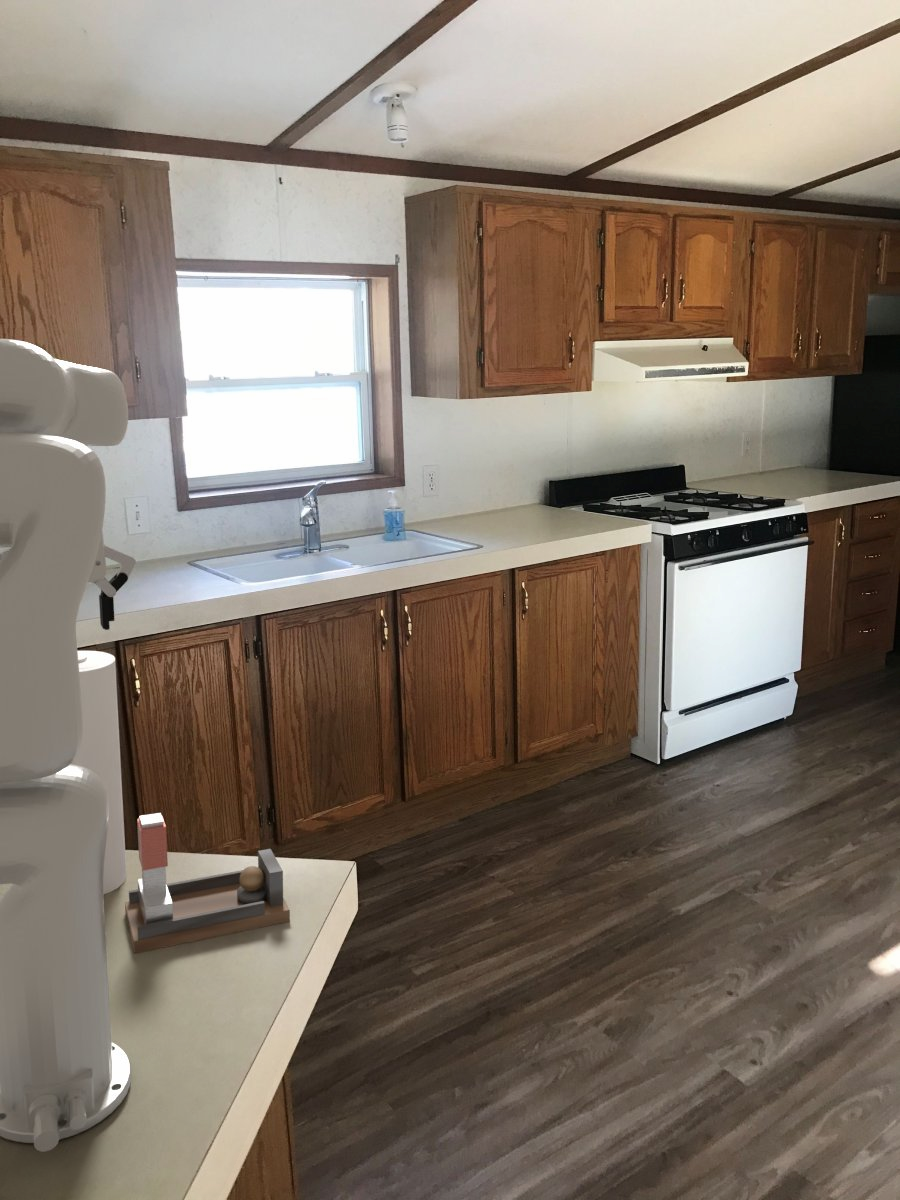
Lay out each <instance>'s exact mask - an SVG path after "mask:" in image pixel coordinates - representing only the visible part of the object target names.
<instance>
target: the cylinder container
mask: <svg viewBox="0 0 900 1200" xmlns="http://www.w3.org/2000/svg"><path fill="white" fill-rule="evenodd" d="M77 652H78V664H79V676H80V687H81V701H82V714H83V734H82V742H81V746H80V750H79V752H78V754H77V756H76V758H75V759H74V761H73V762H72V763H71V764H73V765H78V766H82V767H85V768H87V769H89V770H91V771H93V772H94V773H95V774H97V775H98V776H99V777H100V778H101V780H102V781H103V783H104V785H105V787H106V790H107V794H108V802H109V821H108V830H107V840H106V849H105V860H104V878H103V888H104V895H106V894H109V893H111V892H113V891H114V890H116V889H118V888H120V887H121V886H122V884H124V883H125V881H126V879H127V860H126V842H125V823H124V822H125V821H124V819H125V818H124V804H123V802H124V801H123V784H122V782H123V781H122V768H121V767H122V766H121V765H122V764H121V748H120V747H121V745H120V729H119V726H120V725H119V709H118V708H119V706H118V690H117V668H116V666H117V665H116V657H115V656H114V655H113V654H111V653H108V652H105V651H98V650H77Z"/></svg>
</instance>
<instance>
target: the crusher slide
mask: <svg viewBox="0 0 900 1200" xmlns="http://www.w3.org/2000/svg"><path fill="white" fill-rule="evenodd" d="M136 820H137V821H136V823H137V840H138V841H137V842H138V858H139V862H140V866H141V878H137V889H138V898H139V905H140V909H141V912H142V916H143V920H144V924H149V923H154V922H159V921H164V920H169V919H173V904H172V900H171V897H170V894H169V891H168V888H167V884H168V883H167V870H166V869H167V868H166V867H168V843H167V842H168V841H167V839H168V837H167V836H168V835H167V825H166V823H165V820H164V817H163V814H162V812H157V813H150V814H142V815H139V817H138V818H137V819H136Z"/></svg>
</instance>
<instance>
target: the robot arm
mask: <svg viewBox="0 0 900 1200" xmlns="http://www.w3.org/2000/svg"><path fill="white" fill-rule="evenodd" d="M128 424H129V405H128V400H127V394H126V391H125V387H124V384H123V382H122V381H121V379H120V378H119V376H118V375H117V374H116V373H115V372H113V371H111V370H108V369H104V368H99V367H93V366H87V365H82V364H78V363H77V364H76V363H73V362H69V361H65V360H60V359H57V358H54V357H53V356H52V355H51V354H50V353H48V351H46V350H44V349H43V348H41V347H39V346H37V345H35V344H32V343H30V342H27V341H22V340H18V339H17V340H16V339H9V338H0V548H7V549H4V550H3V551H1V552H0V885H8V884H9V885H10V884H11V885H10V886H9V888H8V889H7V890H6V892H5V893H4V894H3V895H2V897H1V898H0V1137H1V1138H3V1139H6V1140H10V1141H12V1142H17V1143H27V1144H33V1146H34V1148H35V1149H36V1150H37V1152H38V1151H39V1152H42V1153H44V1152H50V1151H51V1150H53V1149H54V1148H56V1146H57V1145H58V1144H59V1140H63V1139H65V1138H69V1137H72V1136H76V1135H78V1134H80V1133H82V1132H85V1131H87V1130H88V1129H91V1128H92V1127H94V1126H96V1125H97V1124H99V1123H100V1122H102V1121H103V1120H105V1118H107V1117H108V1116H109V1115H111V1114H112V1113H113V1112H114V1111H115V1110H116V1109H117V1107H119V1106H120V1104H121V1103H122V1102H123V1100H124V1099H125V1098H126V1096H127V1094H128V1092H129V1089H130V1086H131V1081H132V1066H131V1062H130V1059H129V1056H128V1055H127V1053H126V1052H125V1050H124V1049H122V1048H121V1047H120V1046H118V1045H117V1044H116V1043H114V1042H113V1041H112V1025H111V1011H110V1010H111V1007H110V992H109V976H108V975H109V973H108V960H107V959H108V957H107V943H106V941H107V940H106V924H105V901H104V900H105V897H104V895H105V894H104V888H103V878H104V860H105V849H106V840H107V830H108V821H109V802H108V794H107V790H106V787H105V785H104V783H103V781H102V780H101V778H100V777H99V776H98V775H97V774H95V773H94V772H93V771H91V770H89V769H87V768H85V767H82V766H78V765H73V764H71V763H72V762H73V761H74V759H75V758H76V756H77V754H78V752H79V750H80V746H81V742H82V734H83V714H82V701H81V687H80V676H79V664H78V652H77V651H78V644H77V643H78V641H77V640H78V639H77V629H76V628H77V626H76V625H77V619H78V618H77V617H78V615H79V610H80V605H81V603H82V599H83V596H84V594H85V591H86V588H87V585H92V584H95V585H96V586H97V588H99V589H100V594H98V602H99V605H98V606H99V619H100V620H99V622H100V626H101V628H102V629H103V630H104V631H108V630H110V622H114V621H115V602H114V601H115V600H114V597H115V596H116V595H117V592H118V591H119V590H120V589H121V588H122V587H123V586H124V585H125V584H126V583H127V582H128V580H129V577H130V576H131V573H132V571H133V569H134V567H135V565H136V563H137V562H136V559H135V558H134V556H131V555H130V554H126V553H124V552H122V551H120V550H118V549H115V548H113V547H110V546H109V545H106V544H105V542H104V535H103V533H104V532H103V527H104V520H105V511H106V477H105V473H104V467H103V465H102V464H103V463H102V462H101V460H100V457H98V454H96V452H95V451H94V450H93V449H91V448H90V447H113V446H114V447H115V446H118V445H120V444H121V443H122V441H123V440H124V438H125V436H126V433H127V429H128ZM106 559H109V560H112V561H114V562H116V563H119V565H120V566H119V569H118V570H117V572H116V574H115V575H113V577H112V578H111V579H110V580H108V579H107V578H106V575H107V574H106V572H107V571H106V570H107V568H106V566H107V565H106Z"/></svg>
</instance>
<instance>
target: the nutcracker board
mask: <svg viewBox="0 0 900 1200" xmlns="http://www.w3.org/2000/svg"><path fill="white" fill-rule="evenodd" d="M166 884H167V888H168V891H169V894H170V897H171V900H172V904H173V919H169V920H164V921H159V922H154V923H149V924H144V920H143V916H142V912H141V909H140V905H139V898H138V888H137V889H131V890H128V898H129V900H128V901H125V902H124V908H125V909H124V910H125V912H124V913H125V918H126V921H127V926H128V930H129V935H130V939H131V943H132V947H133V951H134V954H137V953H138V954H139V953H143V952H147V951H152V950H158V949H162V948H166V947H172V946H176V945H182V944H186V943H190V942H191V943H192V942H195V941H196V942H197V941H201V940H205V939H211V938H216V937H219V936H220V937H221V936H225V935H228V934H229V935H230V934H234V933H238V932H244V931H249V930H254V929H258V928H262V927H267V926H272V925H278V924H282V923H287V922H290V921H291V919H290V918H291V916H290V915H291V912H290V911H291V909H290V908H289V906H288V904H287V902H286V900H285V899H284V871H283V868H282V867H281V865H280V862H279V861H278V860H277V858H276V856H275V853H273V851H272V849H271V848H267V849H262V850H257V866H254V865H252V866H248V867H247V866H246V867H245V868H244V869H242V870H236V871H230V872H225V873H219V874H215V875H209V876H203V877H197V878H192V879H186V880H182V881H175V882H169V883H166Z"/></svg>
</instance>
